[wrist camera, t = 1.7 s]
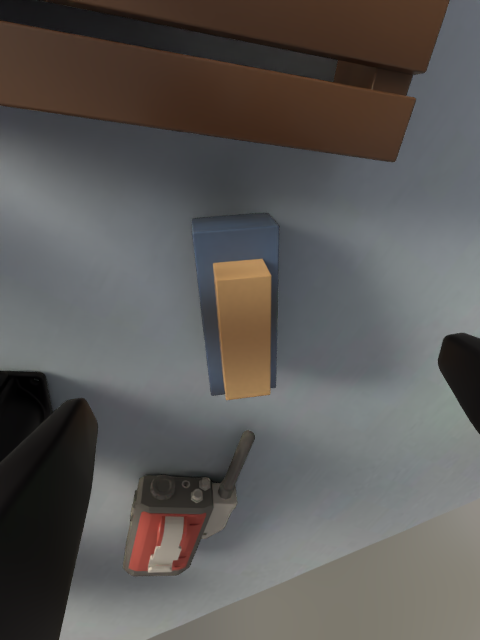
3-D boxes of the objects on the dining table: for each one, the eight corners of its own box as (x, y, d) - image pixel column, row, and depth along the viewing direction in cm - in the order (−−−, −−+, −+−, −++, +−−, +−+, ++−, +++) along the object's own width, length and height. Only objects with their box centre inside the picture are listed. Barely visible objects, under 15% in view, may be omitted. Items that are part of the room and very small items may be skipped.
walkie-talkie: (205, 547, 37) (260, 420, 28) (208, 595, 34) (271, 468, 24) (122, 547, 35) (151, 410, 26) (115, 599, 31) (145, 460, 22)
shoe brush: (263, 349, 24) (284, 412, 19) (207, 356, 24) (213, 422, 19) (263, 205, 19) (291, 239, 14) (191, 210, 18) (192, 247, 13)
